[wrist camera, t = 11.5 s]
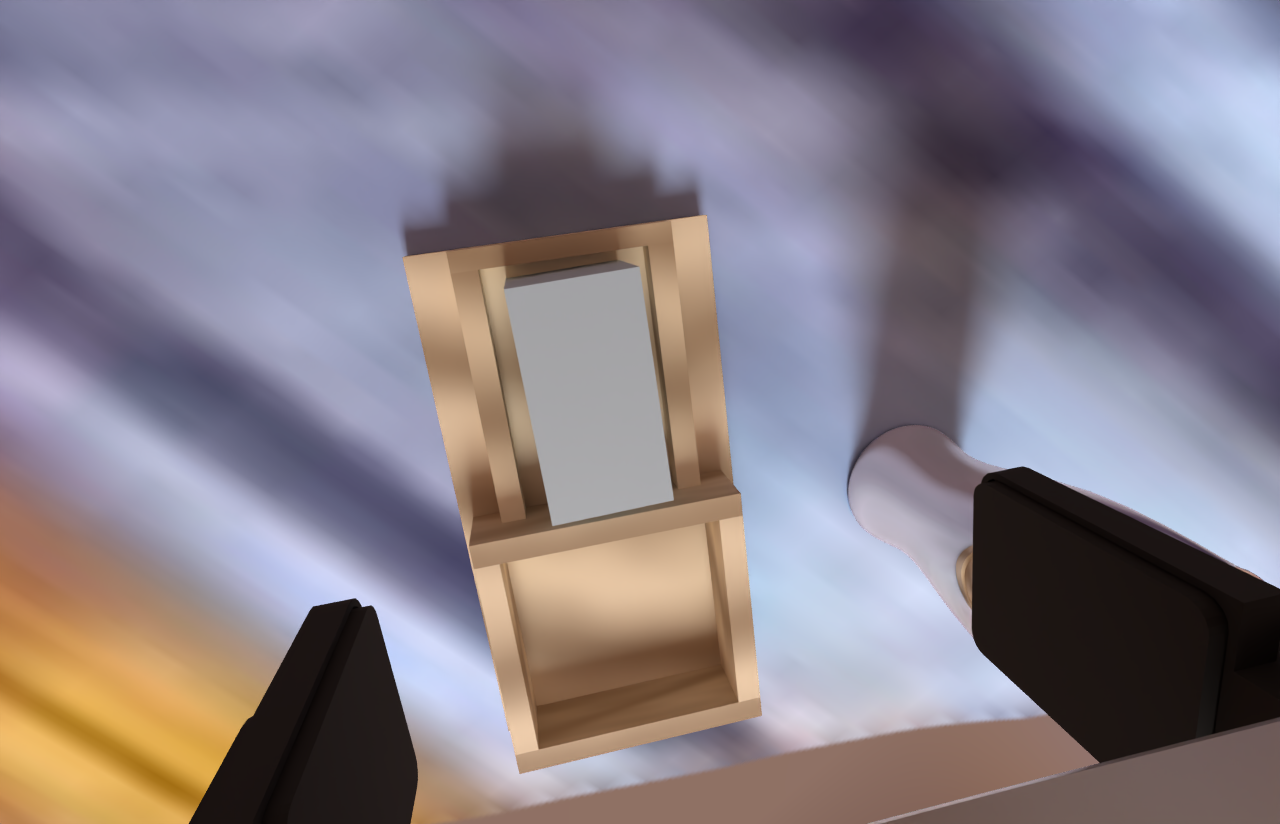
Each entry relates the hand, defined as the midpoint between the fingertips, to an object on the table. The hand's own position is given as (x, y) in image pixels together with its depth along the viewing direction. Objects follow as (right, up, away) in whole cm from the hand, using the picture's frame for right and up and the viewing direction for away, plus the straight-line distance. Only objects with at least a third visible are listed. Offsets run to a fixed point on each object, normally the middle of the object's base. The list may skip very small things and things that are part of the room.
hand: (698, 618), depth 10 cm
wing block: (-3, +5, +18) cm, 19 cm away
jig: (-3, 0, +21) cm, 21 cm away
